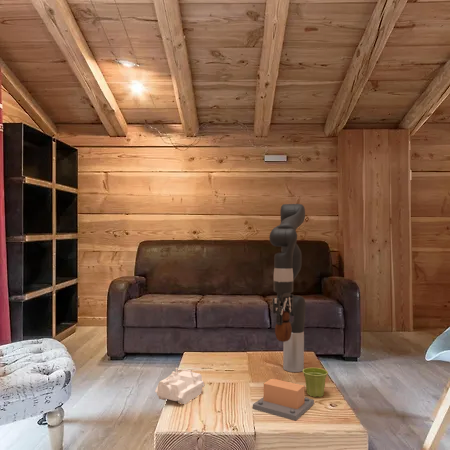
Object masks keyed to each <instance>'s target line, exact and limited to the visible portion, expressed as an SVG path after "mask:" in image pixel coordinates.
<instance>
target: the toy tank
mask: <svg viewBox="0 0 450 450" xmlns="http://www.w3.org/2000/svg"><path fill="white" fill-rule="evenodd" d="M178 370H181V371H180V372H179V371H178ZM158 381H159V380H158ZM204 387H205V382H204V381H203V376H202V374H201V373H199V372H198V373H197V372H194V371H192V370H190V369H186V368H180V367H175V370H174V371H173V370H172V371H171V374H169V375H168V376H167V377H166V378H164V379H161V380H160V381H159V382H158V383H157V386H156V388H155V391H154V392H155V393H156V396H158V399H159V400H163V401H166V400H170V401H174V402H177V404H178V403H181V404H180V405H182V404H185V405H187V404H188V403H190V402H191V401H190V400H192V399H193V400H195V399H196V398H198V397H199V396H198V395H200V394H201V395H202V392H203V388H204ZM201 395H200V396H201ZM197 396H198V397H197ZM195 397H196V398H195ZM194 398H195V399H194ZM193 400H192V401H193ZM189 401H190V402H189ZM187 402H188V403H187ZM186 403H187V404H186Z"/></svg>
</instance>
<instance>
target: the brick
mask: <svg viewBox="0 0 450 450" xmlns="http://www.w3.org/2000/svg"><path fill="white" fill-rule="evenodd" d="M305 388H306V385H303V384H298V383H294V382H290V381H285V380H281V379H276V378H270V379H268V380H267V381H265V382H264V383H263V396H262V398H263V401H267V402H270V403H274V404H278V405H282V406H286V407H290V408H294V409H298V408H300V407H301V406H302V405H303V404H304V403H305V397H306V396H305Z"/></svg>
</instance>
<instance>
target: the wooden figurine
mask: <svg viewBox="0 0 450 450" xmlns="http://www.w3.org/2000/svg"><path fill="white" fill-rule="evenodd" d="M288 320H289V313H288V312H286V311H284V310H283V314H282V325H277V324H276V323H275V326H274V334H275V337H276V340H277V341H279V342H282V343H283V342H286V341H288V340H289V339H290V337H291V332H292V327H291V323H290V322H291V321H288Z"/></svg>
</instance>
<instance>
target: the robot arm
mask: <svg viewBox="0 0 450 450" xmlns="http://www.w3.org/2000/svg"><path fill="white" fill-rule="evenodd" d="M305 218H306V209H305V206H304V205H303V204H301V203H285V204H284V203H283V204H282V205H281V207H280V224H279V225H277V226H275V227H274V228H273V229H271V231H270V234H269V242H270V244H271V245H272V246H273V247H279V248H280V247H281V248H280V249H281V252H277V253H275V254H274V259H273V260H274V262H273V263H274V265H273V266H274V269H273V292H274V293H276V297H273V298H272V312H273V313H272V314H273V315H276V317H275V318H276V321H275V325H276V324H277V325H282V314H283V310H284V311H286V312H288V313H289V320H288V321H289V322H290V323H291V327H292V332H291V337H290V339H289V340H288V341H286V342H282V344H283V353H282V355H283V357H282V358H283V360H282V361H283V363H282V365H283V370H284V371H286V372H290V373H299V372H300V373H302V372H303V369H305V364H304V363H305V323H306V311H307V310H306V307H307V306H306V305H307V304H306V299H305V298H304V297H303V296H301V295H294V294H292V293H293V292H294V280H295V279H296V277H297V276H298V274H299V273H300V271H301V270H302V269H301V268H302V250H301V249H300V247H299V245H298V243H297V240H298V233H297V231H296V230H297V229H298V228H299V227H300V226H301V225H302V224H303V223H304V222H305ZM292 316H293V319H292V321H291V317H292Z"/></svg>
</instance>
